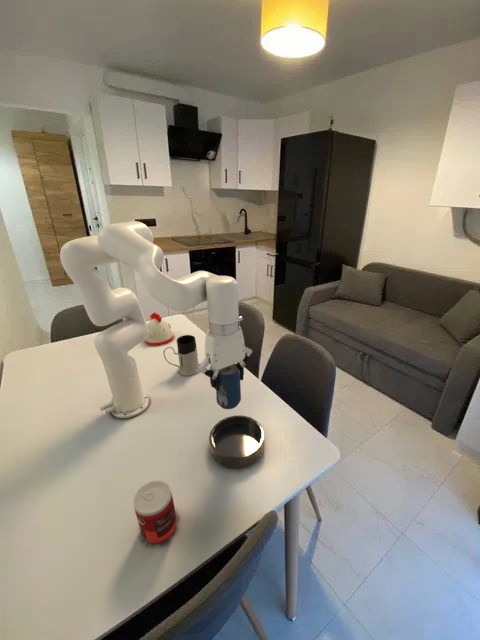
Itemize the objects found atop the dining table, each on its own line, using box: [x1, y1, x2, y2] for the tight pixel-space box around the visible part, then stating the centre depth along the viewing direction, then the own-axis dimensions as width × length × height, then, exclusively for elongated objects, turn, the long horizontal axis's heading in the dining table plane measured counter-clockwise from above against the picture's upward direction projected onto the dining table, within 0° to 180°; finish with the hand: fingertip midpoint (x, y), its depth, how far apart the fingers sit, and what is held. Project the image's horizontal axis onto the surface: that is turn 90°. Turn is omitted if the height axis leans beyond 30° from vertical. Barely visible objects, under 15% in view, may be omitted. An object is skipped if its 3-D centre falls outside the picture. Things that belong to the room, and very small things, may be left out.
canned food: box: [133, 480, 178, 544], centre depth 66 cm, size 8×8×11 cm
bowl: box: [208, 414, 265, 469], centre depth 88 cm, size 16×16×4 cm
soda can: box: [215, 363, 242, 410], centre depth 81 cm, size 7×7×12 cm
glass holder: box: [162, 334, 200, 376], centre depth 122 cm, size 9×14×15 cm, turn 125°
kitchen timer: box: [144, 312, 174, 347], centre depth 148 cm, size 14×14×15 cm
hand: (227, 382), depth 80 cm, fingers closed on soda can, 7 cm apart
